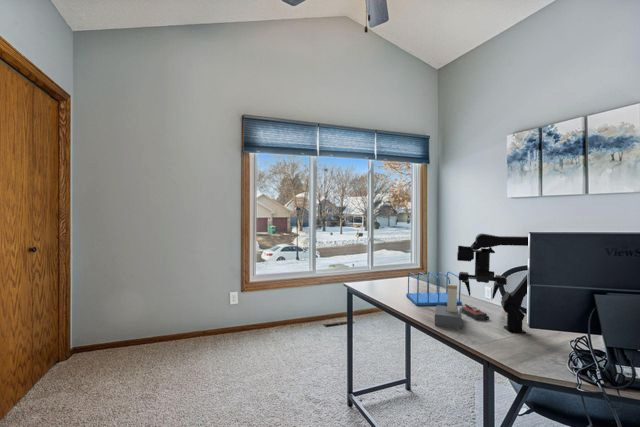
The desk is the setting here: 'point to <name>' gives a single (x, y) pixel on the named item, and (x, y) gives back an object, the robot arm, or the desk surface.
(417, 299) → the file sorter
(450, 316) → the block
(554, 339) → the desk surface
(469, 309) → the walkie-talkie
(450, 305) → the strip
